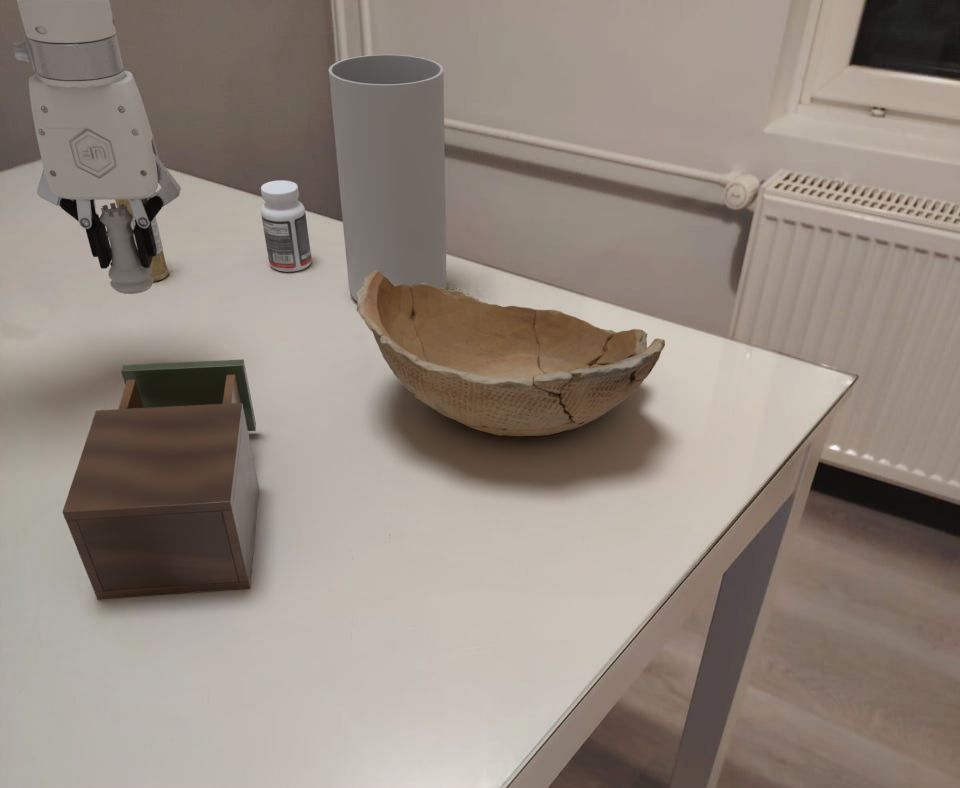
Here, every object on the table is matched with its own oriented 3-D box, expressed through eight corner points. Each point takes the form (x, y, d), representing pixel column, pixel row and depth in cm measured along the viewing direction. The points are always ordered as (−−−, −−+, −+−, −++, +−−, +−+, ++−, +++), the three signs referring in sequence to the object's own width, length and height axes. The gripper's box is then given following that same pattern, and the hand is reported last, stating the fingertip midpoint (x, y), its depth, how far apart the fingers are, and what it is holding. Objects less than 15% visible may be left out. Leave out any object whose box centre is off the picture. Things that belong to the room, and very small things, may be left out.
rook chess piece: (163, 284, 96) (146, 206, 90) (131, 299, 93) (111, 219, 87) (135, 273, 97) (116, 196, 92) (102, 287, 95) (80, 208, 89)
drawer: (148, 406, 94) (130, 341, 89) (258, 400, 95) (246, 336, 90) (121, 512, 82) (98, 443, 76) (248, 504, 83) (234, 436, 77)
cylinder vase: (337, 309, 112) (313, 81, 94) (364, 268, 121) (346, 51, 103) (435, 319, 111) (429, 88, 93) (455, 276, 119) (453, 58, 101)
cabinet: (123, 494, 85) (95, 410, 78) (258, 486, 86) (242, 402, 80) (96, 599, 75) (61, 512, 68) (250, 588, 76) (230, 501, 69)
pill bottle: (299, 252, 124) (289, 175, 117) (319, 266, 121) (310, 188, 114) (261, 262, 122) (249, 184, 115) (281, 276, 119) (269, 198, 111)
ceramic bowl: (638, 329, 105) (656, 207, 93) (657, 500, 90) (681, 381, 78) (384, 330, 106) (368, 209, 94) (361, 499, 91) (338, 381, 79)
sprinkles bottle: (131, 272, 119) (102, 162, 109) (166, 266, 120) (140, 157, 111) (138, 285, 116) (108, 174, 107) (173, 279, 118) (147, 169, 108)
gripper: (-31, 68, 77) (36, 279, 90) (167, 70, 79) (205, 277, 92) (-9, 47, 82) (52, 249, 95) (177, 49, 84) (211, 247, 97)
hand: (127, 261), depth 93 cm, fingers closed on rook chess piece, 3 cm apart
